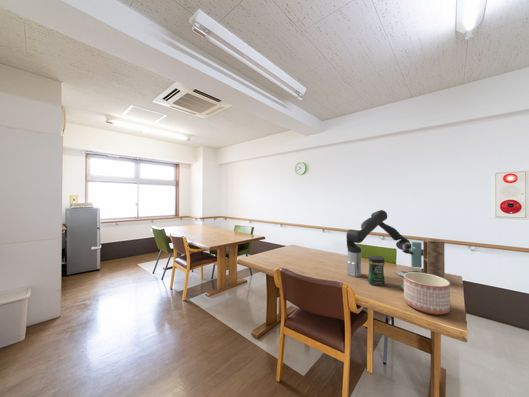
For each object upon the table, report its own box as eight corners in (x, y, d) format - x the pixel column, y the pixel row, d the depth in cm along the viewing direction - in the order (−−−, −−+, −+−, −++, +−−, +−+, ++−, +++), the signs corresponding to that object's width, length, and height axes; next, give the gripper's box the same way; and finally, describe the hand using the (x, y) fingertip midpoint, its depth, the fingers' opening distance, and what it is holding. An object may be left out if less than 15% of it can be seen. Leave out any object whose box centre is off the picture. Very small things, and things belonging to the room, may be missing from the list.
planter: (446, 321, 97) (446, 289, 97) (399, 306, 111) (398, 278, 111) (452, 307, 110) (452, 279, 110) (409, 294, 124) (409, 269, 124)
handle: (411, 294, 138) (390, 282, 133) (415, 282, 139) (395, 270, 134) (440, 306, 121) (418, 293, 116) (445, 293, 122) (423, 280, 117)
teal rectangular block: (412, 267, 151) (412, 242, 151) (411, 265, 155) (411, 241, 154) (422, 268, 149) (422, 243, 149) (420, 266, 153) (420, 241, 153)
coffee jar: (370, 285, 137) (370, 257, 137) (366, 281, 145) (366, 254, 145) (386, 286, 136) (386, 257, 135) (381, 281, 143) (381, 254, 143)
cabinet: (409, 281, 143) (409, 240, 143) (401, 272, 161) (401, 235, 160) (447, 285, 136) (447, 242, 136) (434, 275, 154) (434, 237, 154)
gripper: (399, 243, 168) (406, 248, 152) (420, 244, 164) (429, 249, 148) (399, 252, 168) (406, 258, 152) (420, 253, 164) (429, 260, 148)
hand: (417, 254), depth 150 cm, fingers closed on teal rectangular block, 5 cm apart
